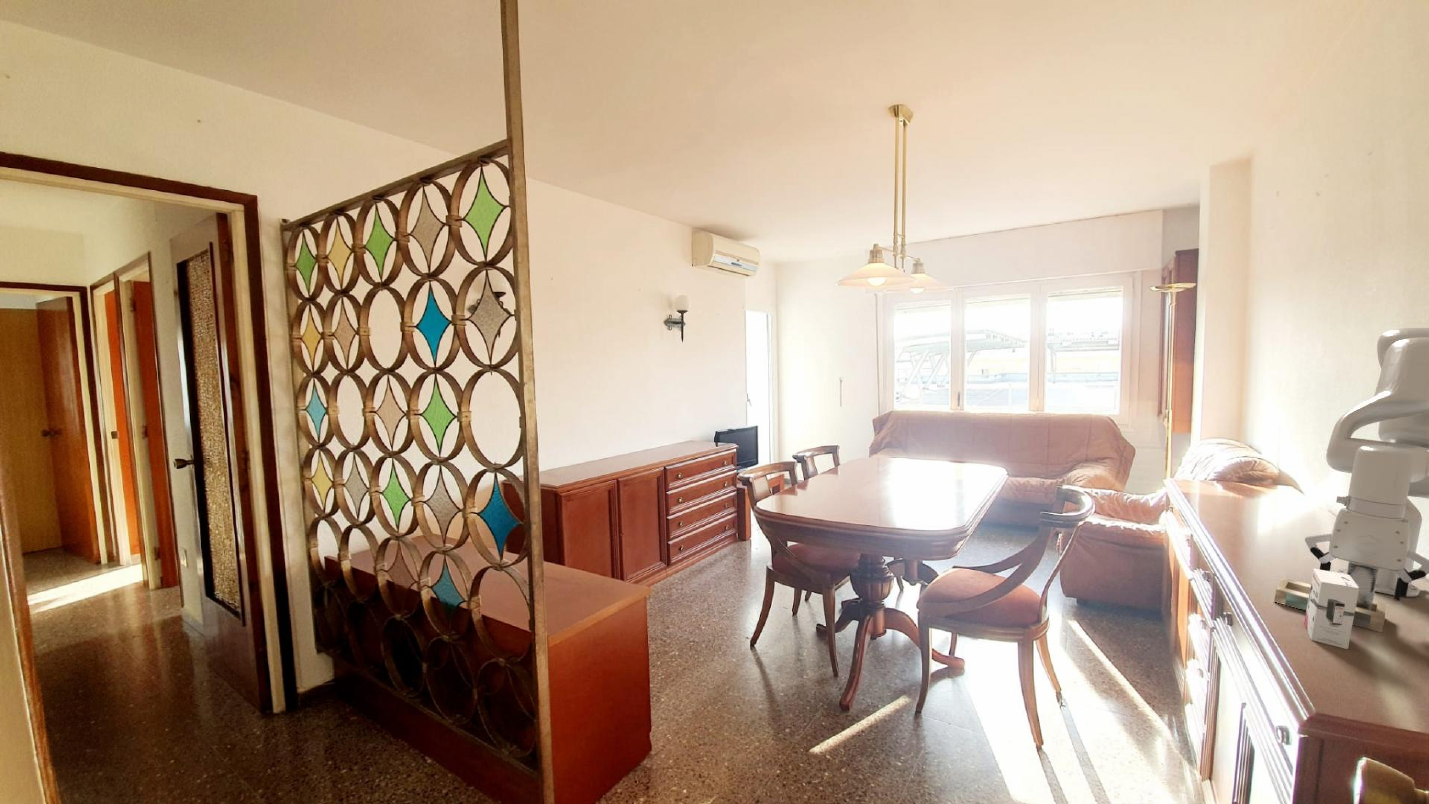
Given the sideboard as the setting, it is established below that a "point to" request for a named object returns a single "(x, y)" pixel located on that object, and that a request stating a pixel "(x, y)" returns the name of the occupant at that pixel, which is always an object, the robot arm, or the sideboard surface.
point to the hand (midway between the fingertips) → (1359, 589)
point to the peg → (1364, 583)
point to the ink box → (1331, 607)
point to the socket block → (1299, 595)
